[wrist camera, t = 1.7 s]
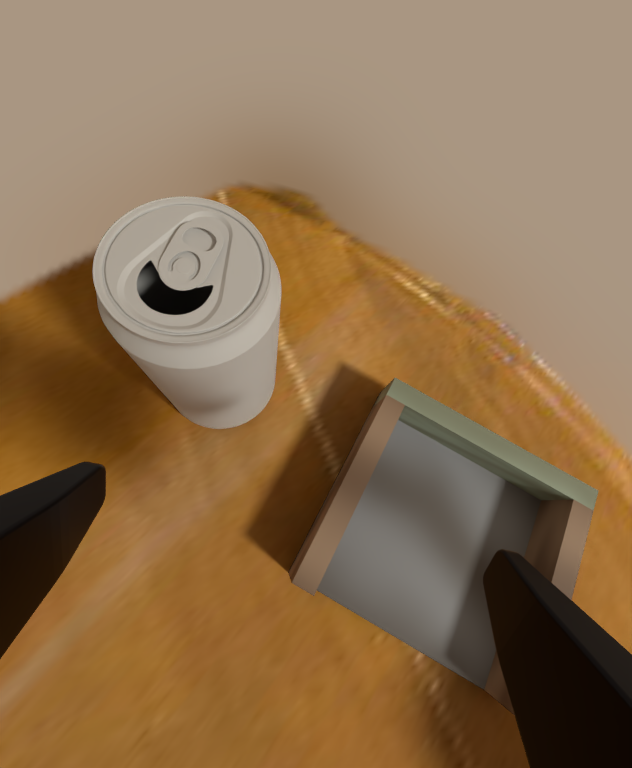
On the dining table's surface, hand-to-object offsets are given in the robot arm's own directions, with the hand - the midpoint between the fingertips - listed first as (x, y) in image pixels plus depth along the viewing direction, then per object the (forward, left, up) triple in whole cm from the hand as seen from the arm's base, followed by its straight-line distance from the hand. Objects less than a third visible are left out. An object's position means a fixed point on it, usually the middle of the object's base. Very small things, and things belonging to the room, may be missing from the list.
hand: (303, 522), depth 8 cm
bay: (+4, -8, -14) cm, 17 cm away
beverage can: (+5, +7, -14) cm, 16 cm away
